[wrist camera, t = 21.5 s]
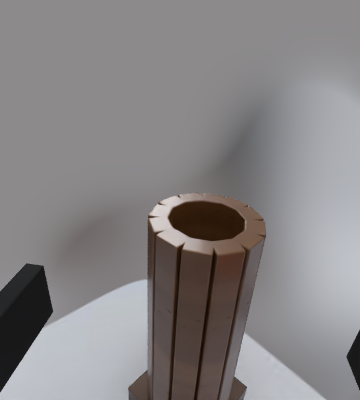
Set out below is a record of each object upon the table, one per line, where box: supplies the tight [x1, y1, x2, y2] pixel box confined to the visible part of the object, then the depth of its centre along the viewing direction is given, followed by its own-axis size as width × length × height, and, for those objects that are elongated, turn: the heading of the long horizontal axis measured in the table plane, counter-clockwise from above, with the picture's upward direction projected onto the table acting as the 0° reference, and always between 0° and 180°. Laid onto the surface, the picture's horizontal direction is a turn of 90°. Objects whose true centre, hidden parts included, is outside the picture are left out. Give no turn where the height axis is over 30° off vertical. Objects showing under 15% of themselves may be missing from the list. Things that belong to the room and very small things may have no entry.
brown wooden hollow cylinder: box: [148, 193, 266, 400], centre depth 17 cm, size 6×6×14 cm
